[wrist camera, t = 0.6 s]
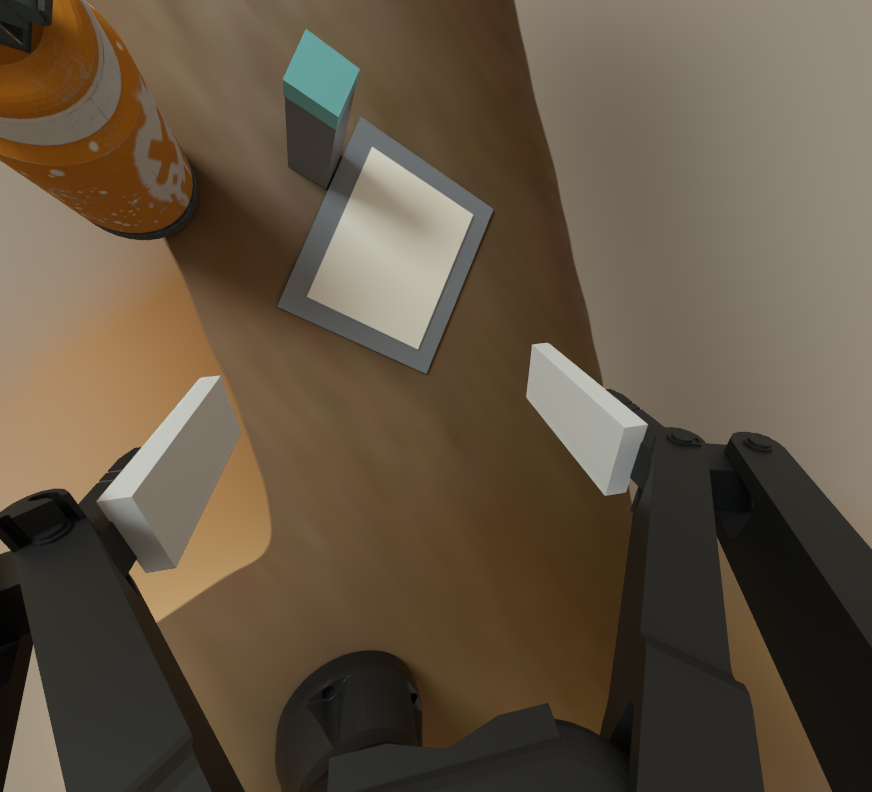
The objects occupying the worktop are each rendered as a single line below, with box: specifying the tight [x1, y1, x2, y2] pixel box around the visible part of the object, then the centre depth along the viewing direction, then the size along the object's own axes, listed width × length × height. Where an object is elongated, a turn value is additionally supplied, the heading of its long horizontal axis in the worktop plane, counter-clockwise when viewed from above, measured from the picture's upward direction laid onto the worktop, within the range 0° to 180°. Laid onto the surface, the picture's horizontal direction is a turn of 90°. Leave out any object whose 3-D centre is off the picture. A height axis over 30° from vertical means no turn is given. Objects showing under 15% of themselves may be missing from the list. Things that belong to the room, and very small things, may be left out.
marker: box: [283, 29, 360, 189], centre depth 29 cm, size 4×4×11 cm
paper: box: [277, 117, 494, 374], centre depth 37 cm, size 20×16×1 cm
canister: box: [0, 0, 198, 240], centre depth 20 cm, size 9×11×20 cm
